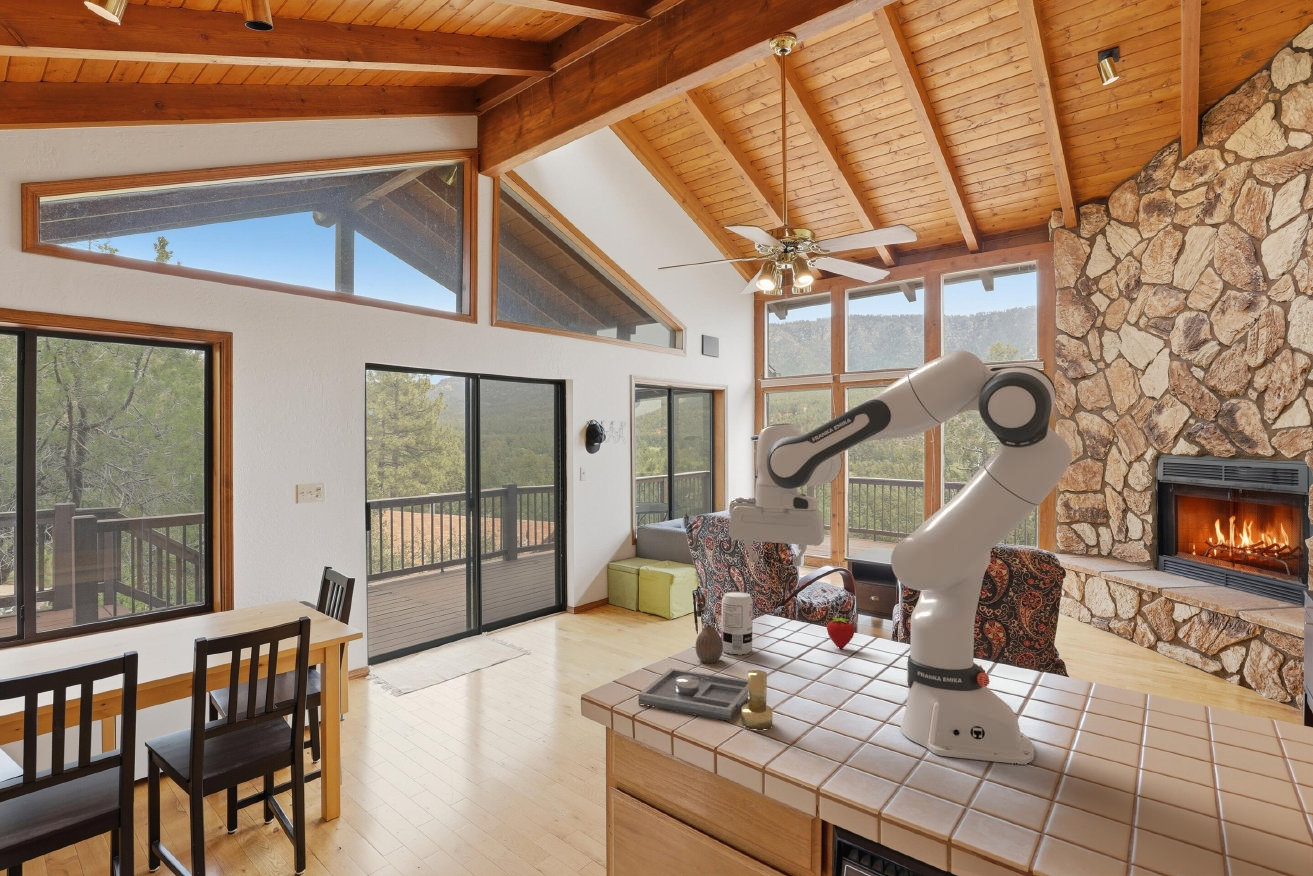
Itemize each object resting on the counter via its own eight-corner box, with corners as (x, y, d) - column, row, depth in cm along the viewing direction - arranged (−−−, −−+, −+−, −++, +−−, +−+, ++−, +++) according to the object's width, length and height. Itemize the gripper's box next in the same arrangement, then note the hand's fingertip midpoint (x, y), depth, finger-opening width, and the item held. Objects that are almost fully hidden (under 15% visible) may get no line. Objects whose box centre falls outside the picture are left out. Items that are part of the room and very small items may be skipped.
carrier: (756, 691, 146) (756, 675, 147) (732, 722, 130) (732, 703, 130) (670, 677, 155) (670, 662, 155) (638, 704, 138) (638, 687, 138)
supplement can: (716, 647, 179) (717, 592, 179) (744, 645, 181) (744, 590, 182) (728, 656, 171) (729, 598, 171) (757, 654, 174) (758, 597, 174)
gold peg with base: (775, 721, 131) (776, 670, 131) (768, 733, 125) (768, 680, 125) (745, 716, 133) (746, 666, 133) (737, 727, 127) (738, 675, 128)
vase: (722, 657, 171) (723, 623, 171) (722, 665, 164) (723, 630, 164) (695, 655, 171) (696, 622, 172) (694, 664, 165) (695, 629, 165)
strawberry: (849, 654, 174) (850, 616, 175) (822, 649, 179) (823, 612, 179) (857, 649, 179) (858, 612, 179) (831, 644, 184) (831, 608, 184)
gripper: (725, 497, 144) (724, 561, 143) (821, 502, 136) (820, 569, 135) (733, 496, 149) (732, 557, 149) (825, 500, 142) (824, 565, 141)
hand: (774, 563), depth 142 cm, fingers open, 8 cm apart
